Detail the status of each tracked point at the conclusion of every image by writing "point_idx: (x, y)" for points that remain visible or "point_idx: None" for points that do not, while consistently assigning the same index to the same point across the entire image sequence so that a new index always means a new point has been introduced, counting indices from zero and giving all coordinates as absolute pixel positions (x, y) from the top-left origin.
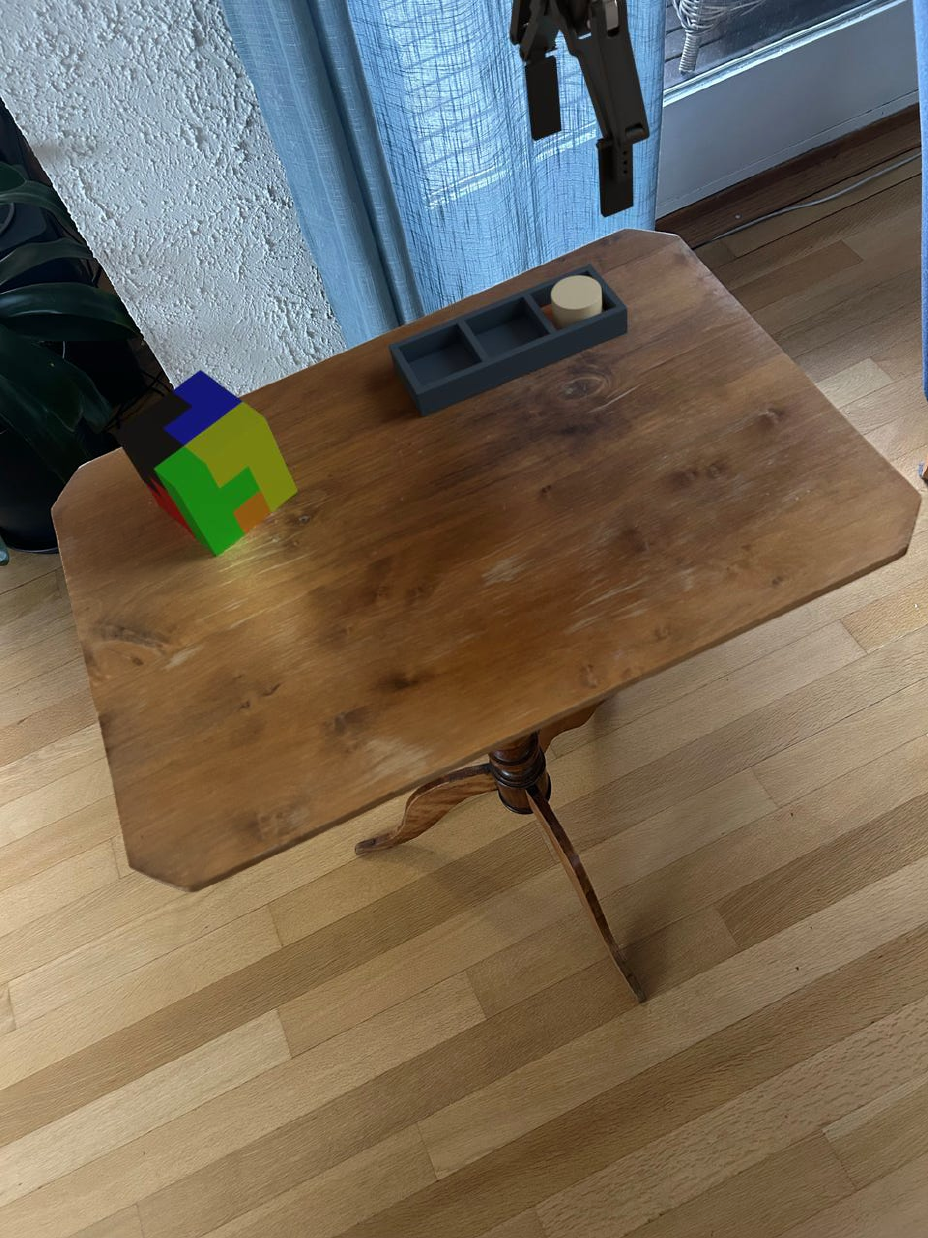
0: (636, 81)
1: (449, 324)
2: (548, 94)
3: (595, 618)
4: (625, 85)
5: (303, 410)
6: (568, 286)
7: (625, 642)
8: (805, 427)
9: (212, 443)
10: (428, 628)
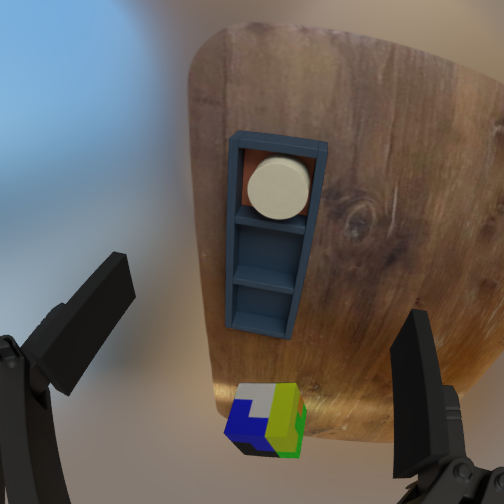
0: None
1: (230, 288)
2: (87, 324)
3: (493, 325)
4: None
5: (235, 357)
6: (263, 193)
7: None
8: None
9: (284, 448)
10: None
